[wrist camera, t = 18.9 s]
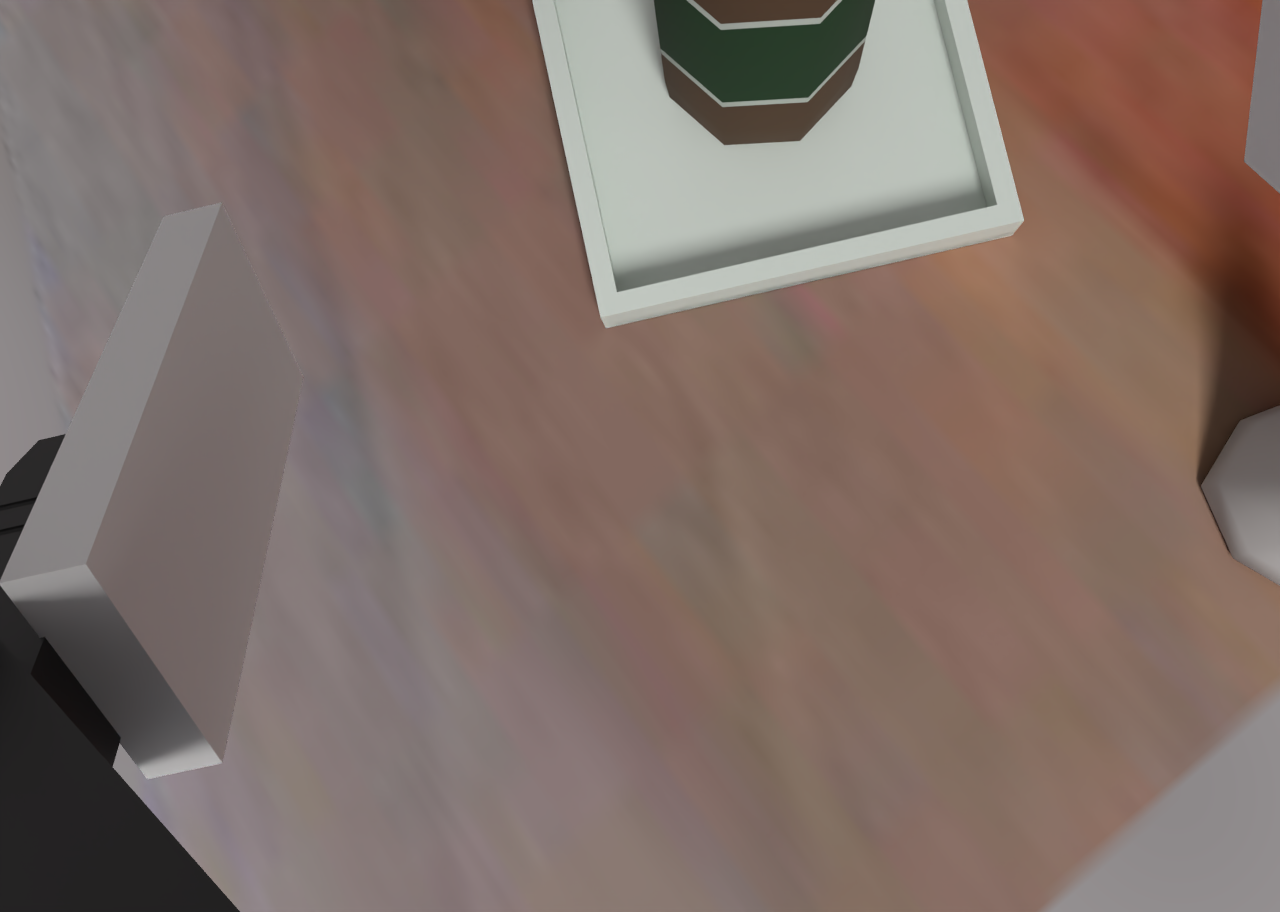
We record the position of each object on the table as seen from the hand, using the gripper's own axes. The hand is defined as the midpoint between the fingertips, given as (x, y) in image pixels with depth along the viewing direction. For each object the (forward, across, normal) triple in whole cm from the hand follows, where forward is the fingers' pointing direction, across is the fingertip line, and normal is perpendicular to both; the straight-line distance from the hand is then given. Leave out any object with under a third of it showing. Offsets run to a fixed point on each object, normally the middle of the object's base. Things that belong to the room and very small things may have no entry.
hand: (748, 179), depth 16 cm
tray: (+33, +4, -12) cm, 35 cm away
